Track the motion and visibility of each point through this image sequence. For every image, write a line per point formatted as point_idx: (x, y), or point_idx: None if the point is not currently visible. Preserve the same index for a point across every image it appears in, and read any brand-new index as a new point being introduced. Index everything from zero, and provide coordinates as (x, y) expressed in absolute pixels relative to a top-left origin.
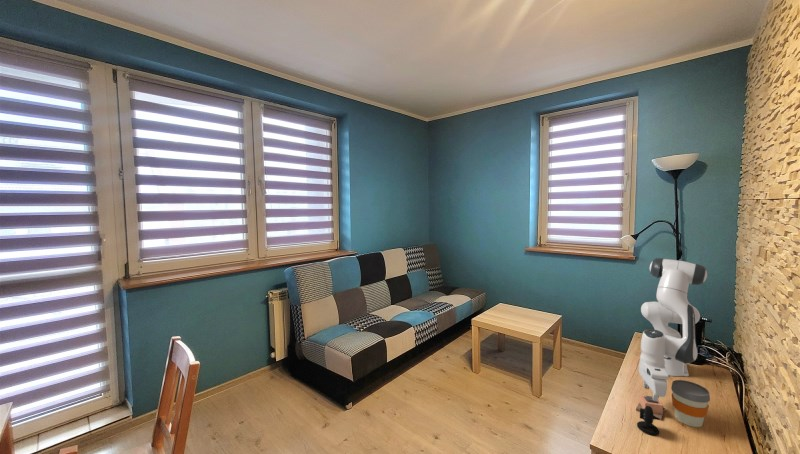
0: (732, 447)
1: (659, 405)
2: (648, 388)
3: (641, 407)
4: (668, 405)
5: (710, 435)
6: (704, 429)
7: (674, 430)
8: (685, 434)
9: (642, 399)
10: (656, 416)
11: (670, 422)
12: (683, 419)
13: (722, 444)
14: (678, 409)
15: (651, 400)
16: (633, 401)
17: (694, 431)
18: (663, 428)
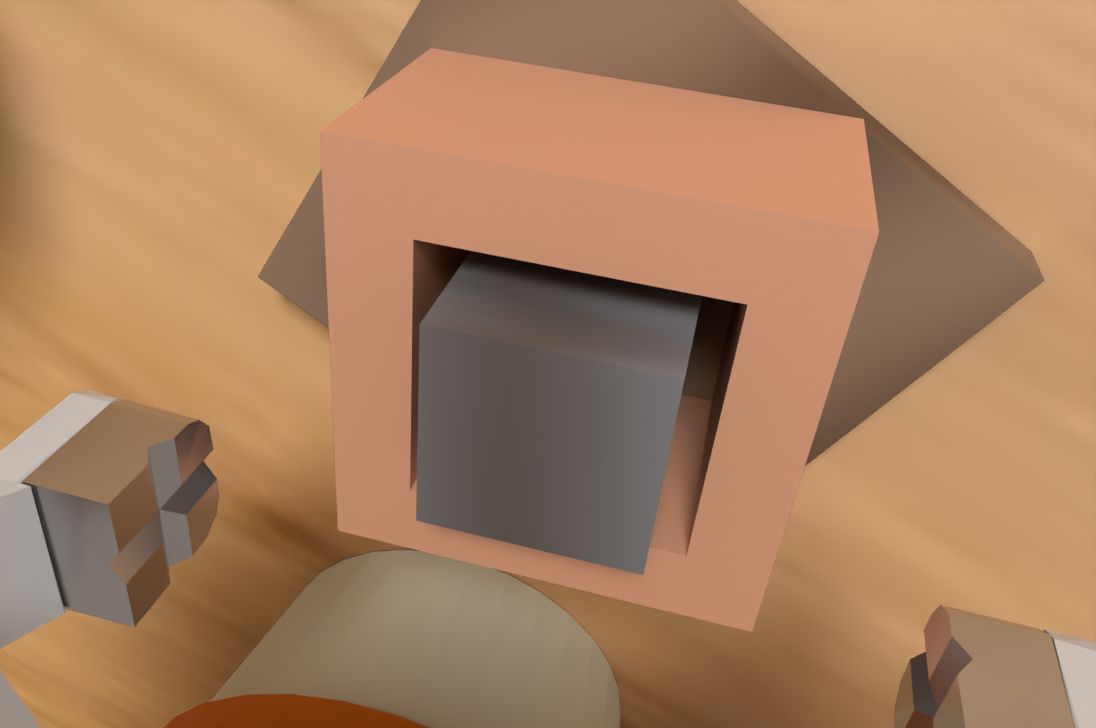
0: (38, 724)
1: (340, 466)
2: (900, 703)
3: (605, 47)
4: (855, 681)
5: (169, 682)
6: None
7: (55, 312)
8: (29, 411)
9: (580, 167)
10: (292, 219)
11: (280, 388)
12: (292, 614)
13: (41, 677)
14: (229, 715)
15: (429, 389)
16: (1037, 4)
17: (173, 571)
18: (19, 148)
